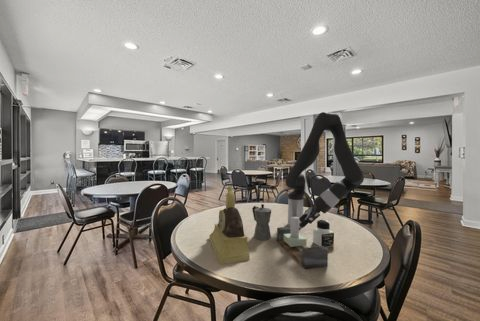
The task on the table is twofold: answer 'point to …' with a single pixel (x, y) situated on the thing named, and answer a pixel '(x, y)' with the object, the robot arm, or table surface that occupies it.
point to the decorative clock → (230, 234)
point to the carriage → (294, 234)
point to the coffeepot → (262, 222)
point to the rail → (304, 252)
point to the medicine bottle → (323, 234)
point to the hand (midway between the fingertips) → (300, 223)
